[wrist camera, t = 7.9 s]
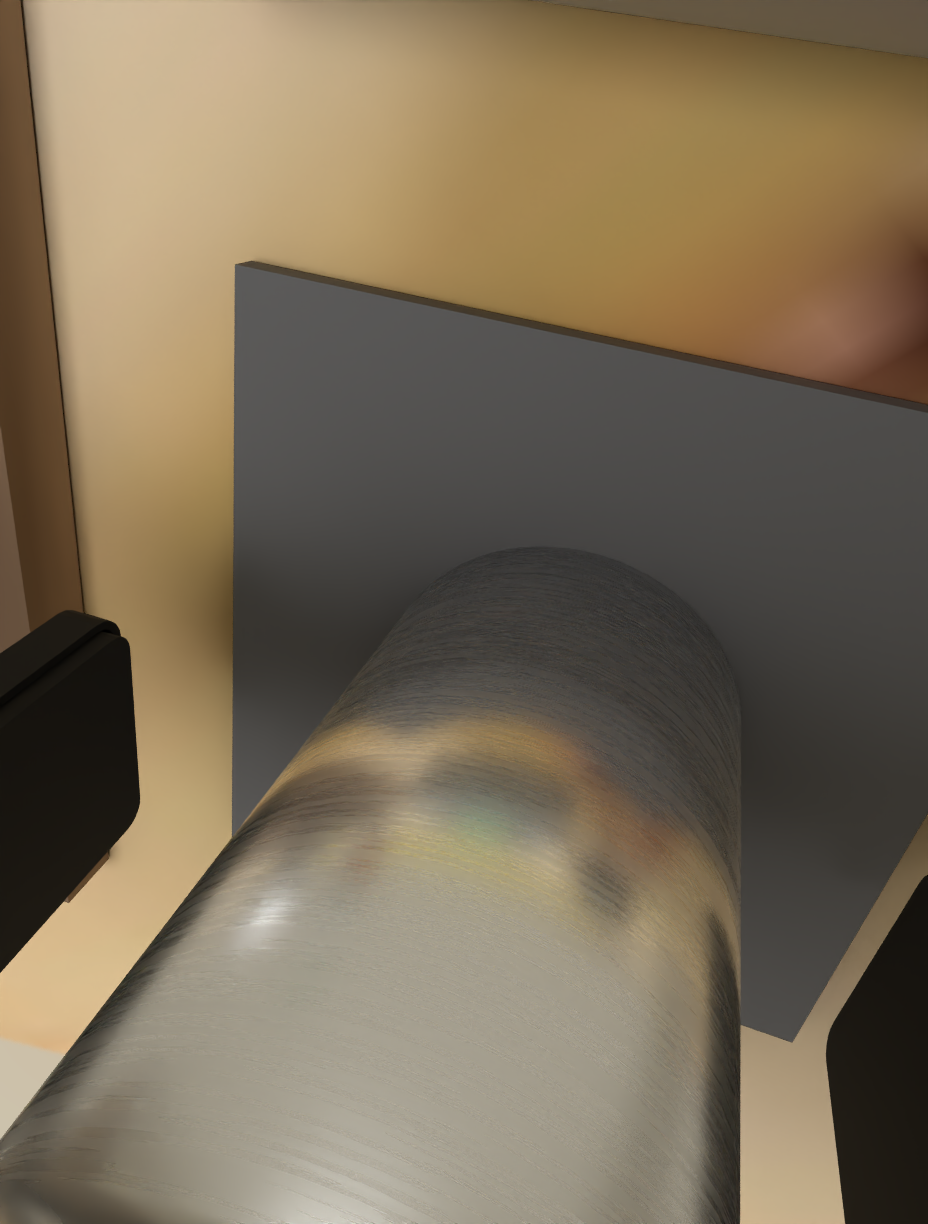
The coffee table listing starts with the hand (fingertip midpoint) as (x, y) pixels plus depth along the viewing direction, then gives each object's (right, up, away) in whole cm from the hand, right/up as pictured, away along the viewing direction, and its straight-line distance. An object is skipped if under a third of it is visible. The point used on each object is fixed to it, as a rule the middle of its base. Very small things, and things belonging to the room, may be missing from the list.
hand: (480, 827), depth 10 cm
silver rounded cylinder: (+1, +1, +2) cm, 3 cm away
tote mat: (+1, +1, +2) cm, 3 cm away
